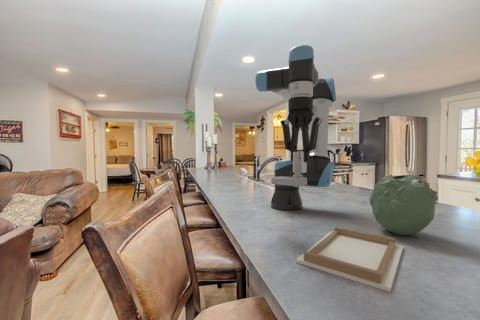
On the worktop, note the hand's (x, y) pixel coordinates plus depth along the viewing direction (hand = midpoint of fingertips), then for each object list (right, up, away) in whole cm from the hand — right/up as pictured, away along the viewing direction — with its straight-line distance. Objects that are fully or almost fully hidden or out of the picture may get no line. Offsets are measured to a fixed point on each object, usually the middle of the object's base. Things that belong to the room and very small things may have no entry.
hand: (299, 172), depth 77 cm
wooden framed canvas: (+11, -21, -13) cm, 27 cm away
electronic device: (-3, -5, +3) cm, 6 cm away
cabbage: (+34, -21, +3) cm, 40 cm away
